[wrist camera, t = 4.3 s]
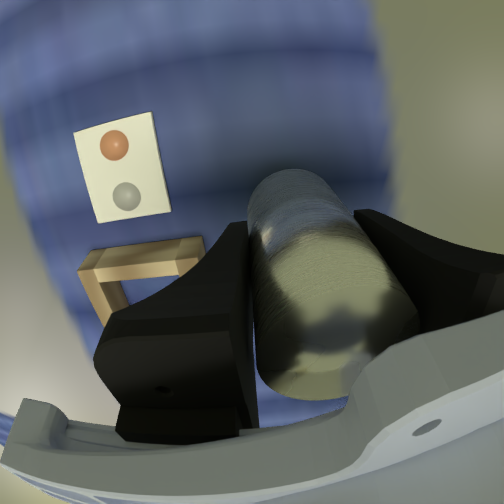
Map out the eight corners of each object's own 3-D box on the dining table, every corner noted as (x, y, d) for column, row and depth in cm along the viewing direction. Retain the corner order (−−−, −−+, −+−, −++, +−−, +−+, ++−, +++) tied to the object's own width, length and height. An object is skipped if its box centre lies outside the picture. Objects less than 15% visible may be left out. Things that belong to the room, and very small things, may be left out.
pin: (335, 165, 12) (437, 273, 6) (335, 246, 14) (399, 384, 8) (242, 173, 12) (246, 300, 6) (252, 255, 15) (263, 408, 8)
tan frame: (201, 235, 19) (197, 257, 17) (234, 373, 26) (234, 396, 24) (91, 250, 19) (76, 271, 17) (150, 376, 26) (146, 397, 24)
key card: (152, 111, 15) (150, 112, 14) (171, 209, 18) (170, 212, 18) (75, 132, 15) (72, 133, 15) (99, 221, 18) (97, 224, 18)
